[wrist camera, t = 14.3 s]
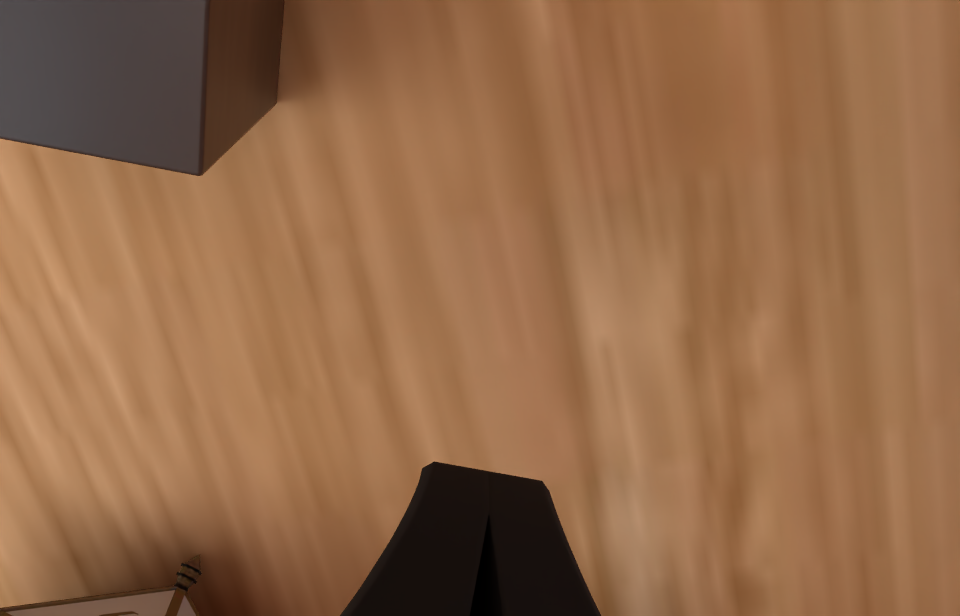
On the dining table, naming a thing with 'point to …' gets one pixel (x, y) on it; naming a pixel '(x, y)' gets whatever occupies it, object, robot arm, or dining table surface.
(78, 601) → the game die
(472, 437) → the dining table surface
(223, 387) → the dining table surface
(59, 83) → the block
